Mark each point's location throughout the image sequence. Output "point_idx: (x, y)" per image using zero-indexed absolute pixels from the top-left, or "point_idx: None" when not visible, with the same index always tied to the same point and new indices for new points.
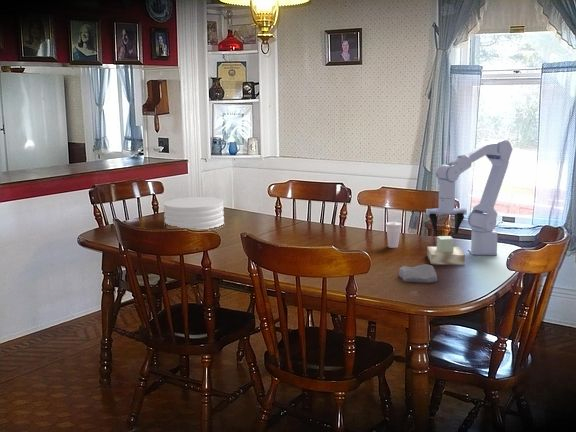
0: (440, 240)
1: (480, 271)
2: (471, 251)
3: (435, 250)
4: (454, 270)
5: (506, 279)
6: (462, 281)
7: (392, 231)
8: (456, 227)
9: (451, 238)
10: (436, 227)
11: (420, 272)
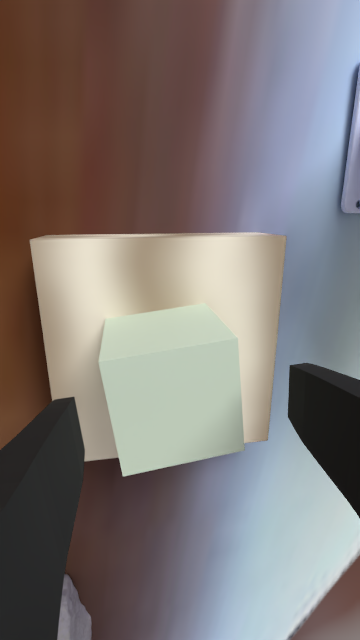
0: (124, 469)
1: (288, 496)
2: (358, 153)
3: (94, 356)
4: (181, 503)
5: (348, 564)
6: (188, 616)
7: None
8: (334, 478)
9: (228, 430)
10: (66, 542)
11: None
